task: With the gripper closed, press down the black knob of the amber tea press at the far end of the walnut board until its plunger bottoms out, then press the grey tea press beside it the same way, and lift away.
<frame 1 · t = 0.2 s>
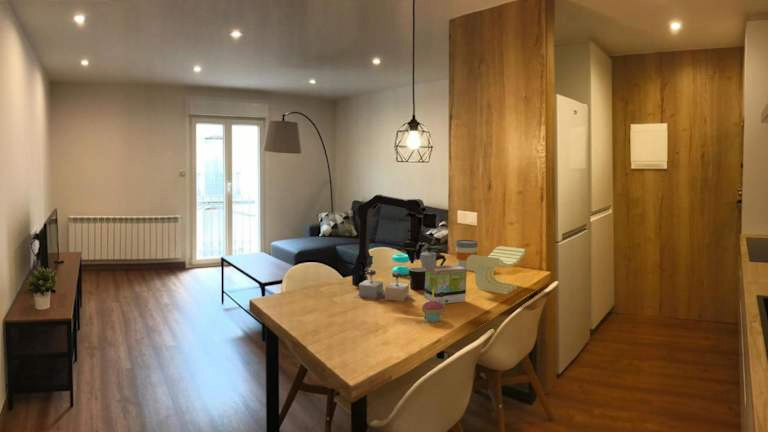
hand: (415, 261, 219), 14 cm above the table, tool pointing down, fingers open, 9 cm apart
donuts: (401, 274, 259), on the table
slatted curved stool: (495, 288, 230), on the table
reusable coffee cup: (465, 267, 276), on the table
tea box: (445, 301, 208), on the table
coffee mug: (418, 290, 226), on the table
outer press: (396, 297, 208), resting on serving board
inner press: (371, 295, 212), resting on serving board
inner press plunger: (371, 278, 211), point 8 cm above the table, slide at 3.5 cm
serving board: (383, 298, 210), on the table
outer press plunger: (397, 281, 207), point 8 cm above the table, slide at 3.5 cm
cupcake: (433, 320, 182), on the table
coffee maker: (430, 283, 239), on the table
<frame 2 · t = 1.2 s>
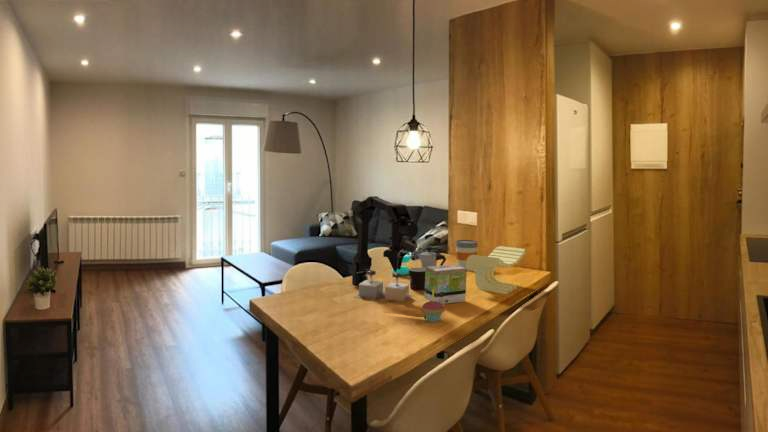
hand: (397, 270, 207), 13 cm above the table, tool pointing down, fingers open, 4 cm apart
nothing on the table moved.
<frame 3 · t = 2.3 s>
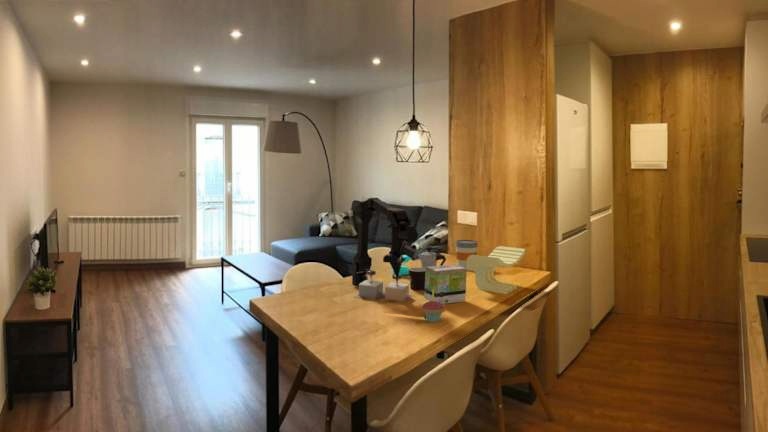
hand: (397, 275, 207), 11 cm above the table, tool pointing down, fingers closed, pressing on outer press plunger
outer press plunger: (397, 282, 207), point 8 cm above the table, slide at 2.7 cm, touching gripper
everything else where it was.
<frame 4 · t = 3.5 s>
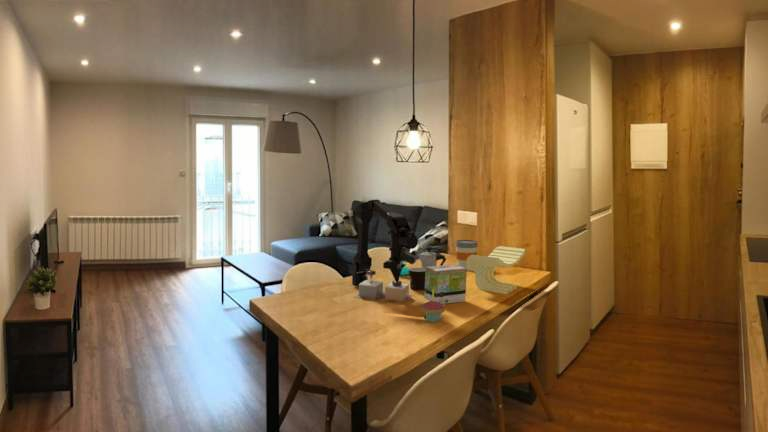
hand: (397, 281, 207), 8 cm above the table, tool pointing down, fingers closed
outer press plunger: (396, 289, 208), point 5 cm above the table, slide at -0.1 cm
everything else where it was.
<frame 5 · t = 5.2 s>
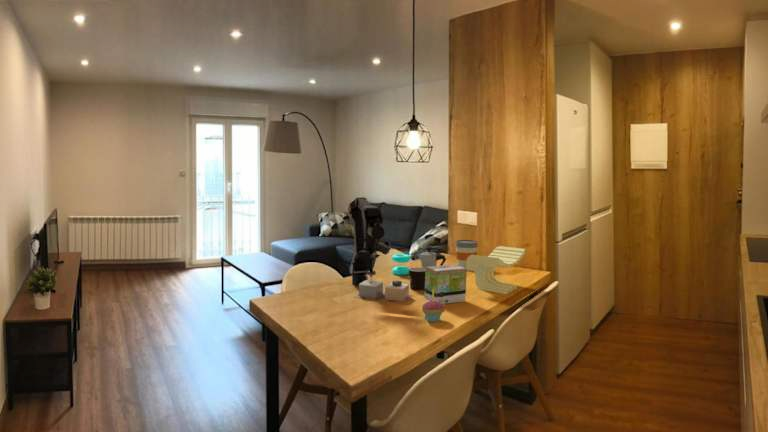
hand: (371, 271, 211), 12 cm above the table, tool pointing down, fingers closed, pressing on inner press plunger
inner press plunger: (371, 278, 212), point 8 cm above the table, slide at 3.5 cm, touching gripper
everything else where it was.
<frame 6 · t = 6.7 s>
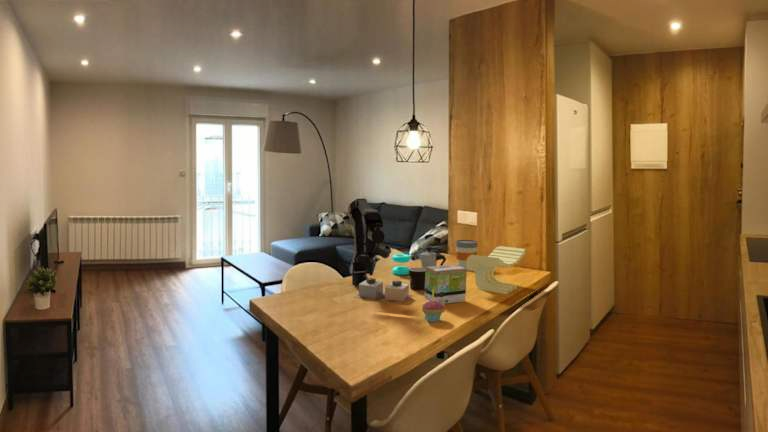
hand: (371, 275, 211), 10 cm above the table, tool pointing down, fingers closed
inner press plunger: (371, 286, 212), point 5 cm above the table, slide at -0.1 cm
everything else where it was.
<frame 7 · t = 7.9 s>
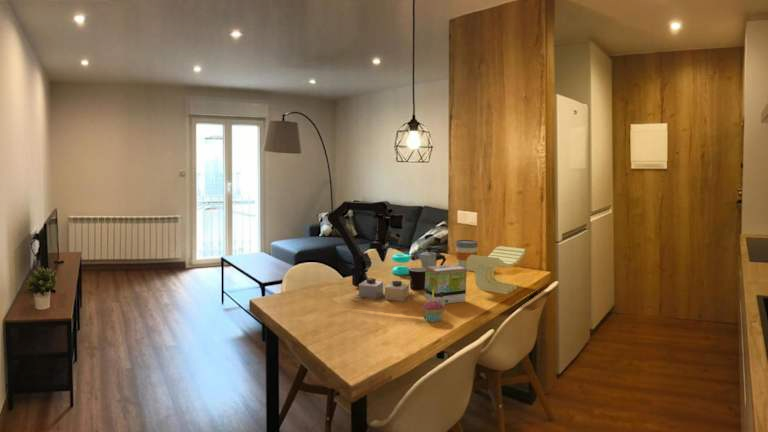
hand: (383, 261, 226), 13 cm above the table, tool pointing down, fingers closed
nothing on the table moved.
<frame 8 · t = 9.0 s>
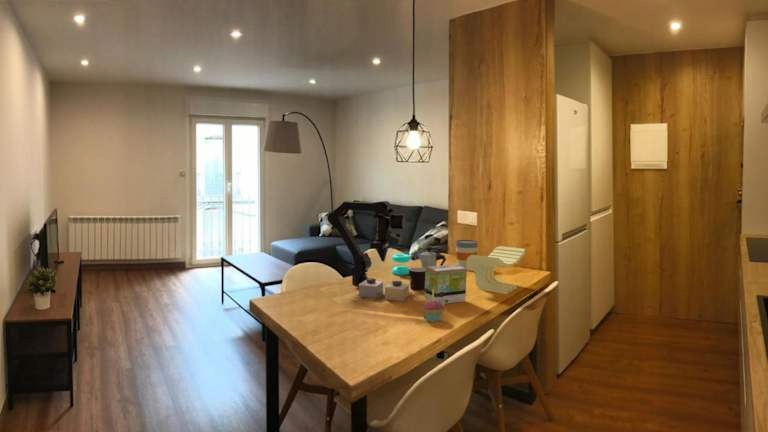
hand: (383, 261, 226), 13 cm above the table, tool pointing down, fingers closed
nothing on the table moved.
at the end: outer press plunger slide at -0.1 cm; inner press plunger slide at -0.1 cm; coffee mug moved 0.2 cm from its start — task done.
